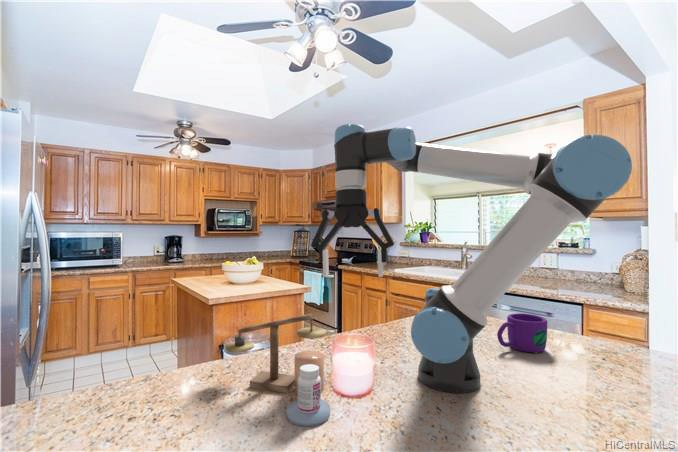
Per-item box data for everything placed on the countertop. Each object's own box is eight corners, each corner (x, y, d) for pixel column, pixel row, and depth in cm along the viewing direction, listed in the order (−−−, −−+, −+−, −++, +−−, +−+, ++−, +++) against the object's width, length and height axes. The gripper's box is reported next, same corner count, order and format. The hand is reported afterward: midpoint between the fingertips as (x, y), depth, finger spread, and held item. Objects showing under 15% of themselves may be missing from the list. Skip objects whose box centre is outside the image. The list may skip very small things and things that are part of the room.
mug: (526, 341, 120) (526, 311, 120) (556, 352, 109) (556, 320, 109) (484, 346, 115) (484, 315, 115) (512, 359, 104) (512, 325, 104)
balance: (329, 386, 86) (330, 311, 86) (320, 399, 79) (320, 319, 79) (235, 372, 93) (235, 304, 93) (219, 383, 86) (219, 310, 87)
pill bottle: (317, 415, 70) (317, 373, 70) (294, 413, 71) (294, 371, 71) (322, 403, 75) (323, 364, 75) (301, 401, 76) (301, 362, 76)
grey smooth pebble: (335, 406, 76) (335, 401, 76) (321, 429, 67) (321, 423, 67) (297, 400, 78) (297, 395, 78) (278, 422, 70) (278, 416, 70)
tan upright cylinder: (327, 384, 86) (327, 352, 86) (317, 398, 80) (318, 363, 80) (301, 381, 88) (301, 349, 88) (289, 393, 82) (289, 359, 82)
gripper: (403, 188, 87) (405, 274, 87) (307, 193, 93) (308, 274, 92) (401, 185, 80) (404, 278, 80) (297, 190, 85) (299, 277, 85)
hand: (352, 276), depth 86 cm, fingers open, 13 cm apart
